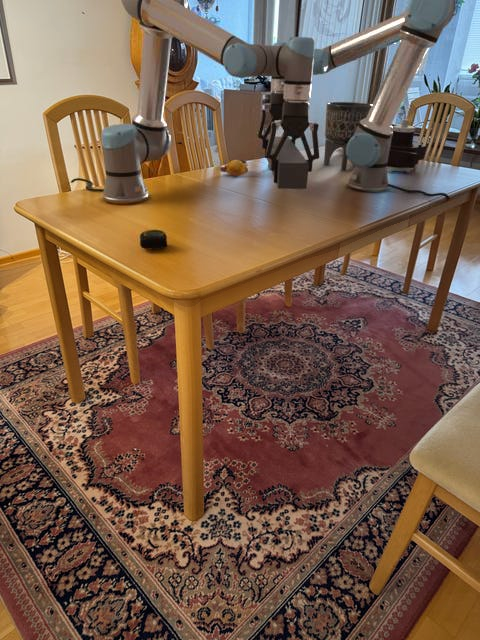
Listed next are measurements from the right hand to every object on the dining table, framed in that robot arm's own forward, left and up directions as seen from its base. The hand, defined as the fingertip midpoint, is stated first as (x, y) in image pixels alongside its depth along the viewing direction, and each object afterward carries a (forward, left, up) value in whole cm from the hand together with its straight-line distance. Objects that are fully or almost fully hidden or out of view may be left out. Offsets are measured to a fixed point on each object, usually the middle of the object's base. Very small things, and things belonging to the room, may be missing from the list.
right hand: (278, 157), depth 175 cm
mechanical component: (-58, -39, -10) cm, 70 cm away
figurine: (-36, -70, -10) cm, 79 cm away
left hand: (-4, +41, 0) cm, 41 cm away
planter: (-30, -37, -10) cm, 49 cm away
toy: (+17, -15, -10) cm, 25 cm away
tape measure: (+31, +74, -10) cm, 81 cm away
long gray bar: (-2, +20, 0) cm, 20 cm away
